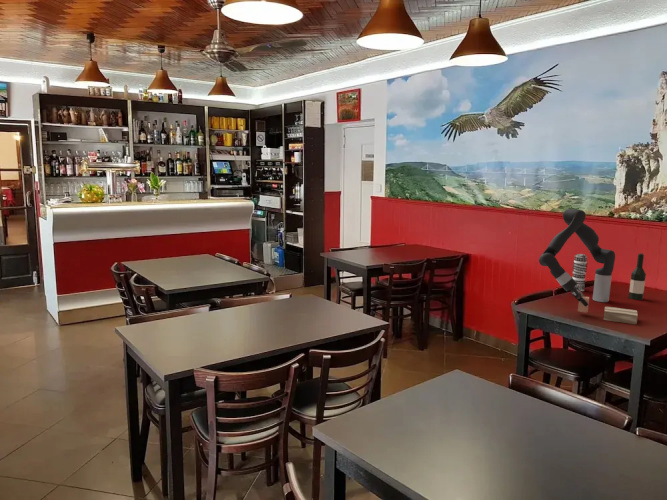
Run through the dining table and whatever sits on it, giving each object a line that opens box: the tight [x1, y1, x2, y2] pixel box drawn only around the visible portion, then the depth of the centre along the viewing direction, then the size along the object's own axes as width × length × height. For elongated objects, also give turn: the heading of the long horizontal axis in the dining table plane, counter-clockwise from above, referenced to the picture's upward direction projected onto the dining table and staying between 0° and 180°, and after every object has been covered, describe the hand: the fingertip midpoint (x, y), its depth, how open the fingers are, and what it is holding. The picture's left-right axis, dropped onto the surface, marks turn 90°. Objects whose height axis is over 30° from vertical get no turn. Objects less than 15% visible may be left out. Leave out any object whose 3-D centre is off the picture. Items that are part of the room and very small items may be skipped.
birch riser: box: [603, 306, 639, 325], centre depth 289 cm, size 12×16×5 cm
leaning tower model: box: [572, 253, 588, 292], centre depth 357 cm, size 9×9×25 cm
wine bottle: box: [628, 252, 647, 301], centre depth 335 cm, size 8×8×30 cm
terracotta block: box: [577, 295, 590, 313], centre depth 296 cm, size 5×5×8 cm
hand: (587, 304), depth 295 cm, fingers closed on terracotta block, 5 cm apart
